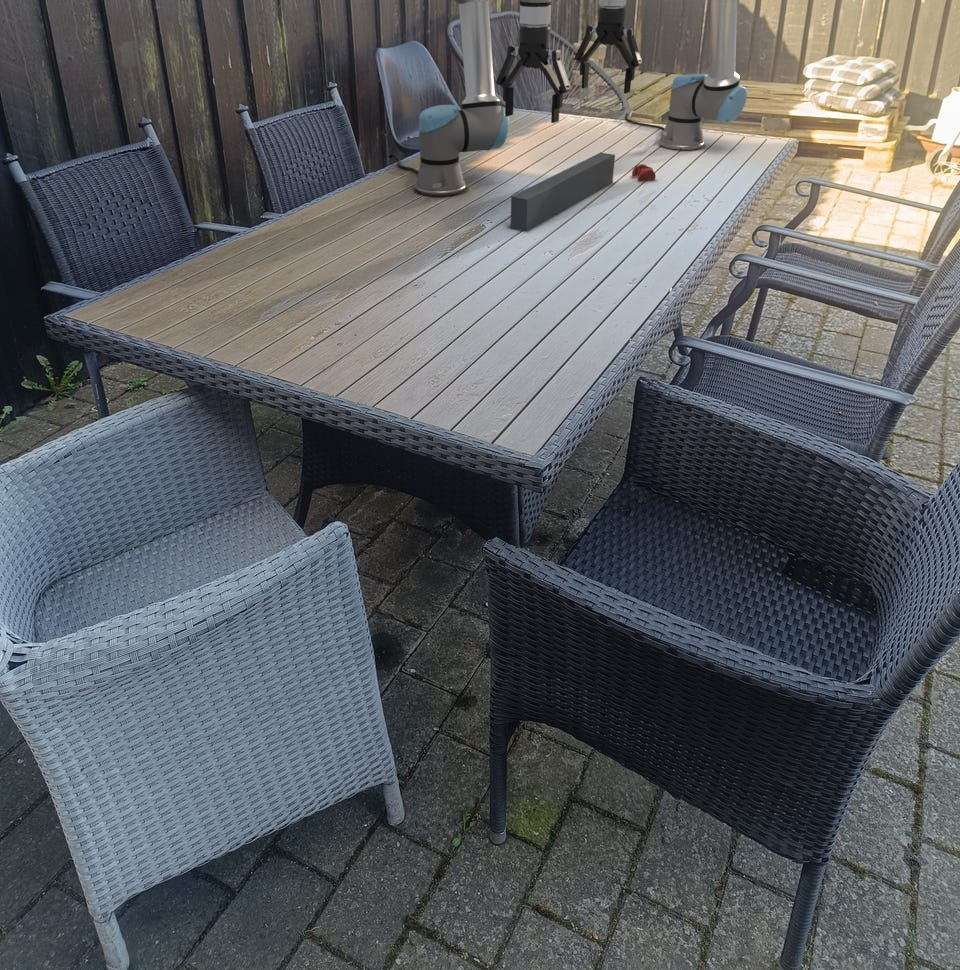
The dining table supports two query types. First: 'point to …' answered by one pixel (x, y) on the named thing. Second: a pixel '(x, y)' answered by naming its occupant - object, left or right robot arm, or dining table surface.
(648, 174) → the red irregular lump
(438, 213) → the dining table surface
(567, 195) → the post
